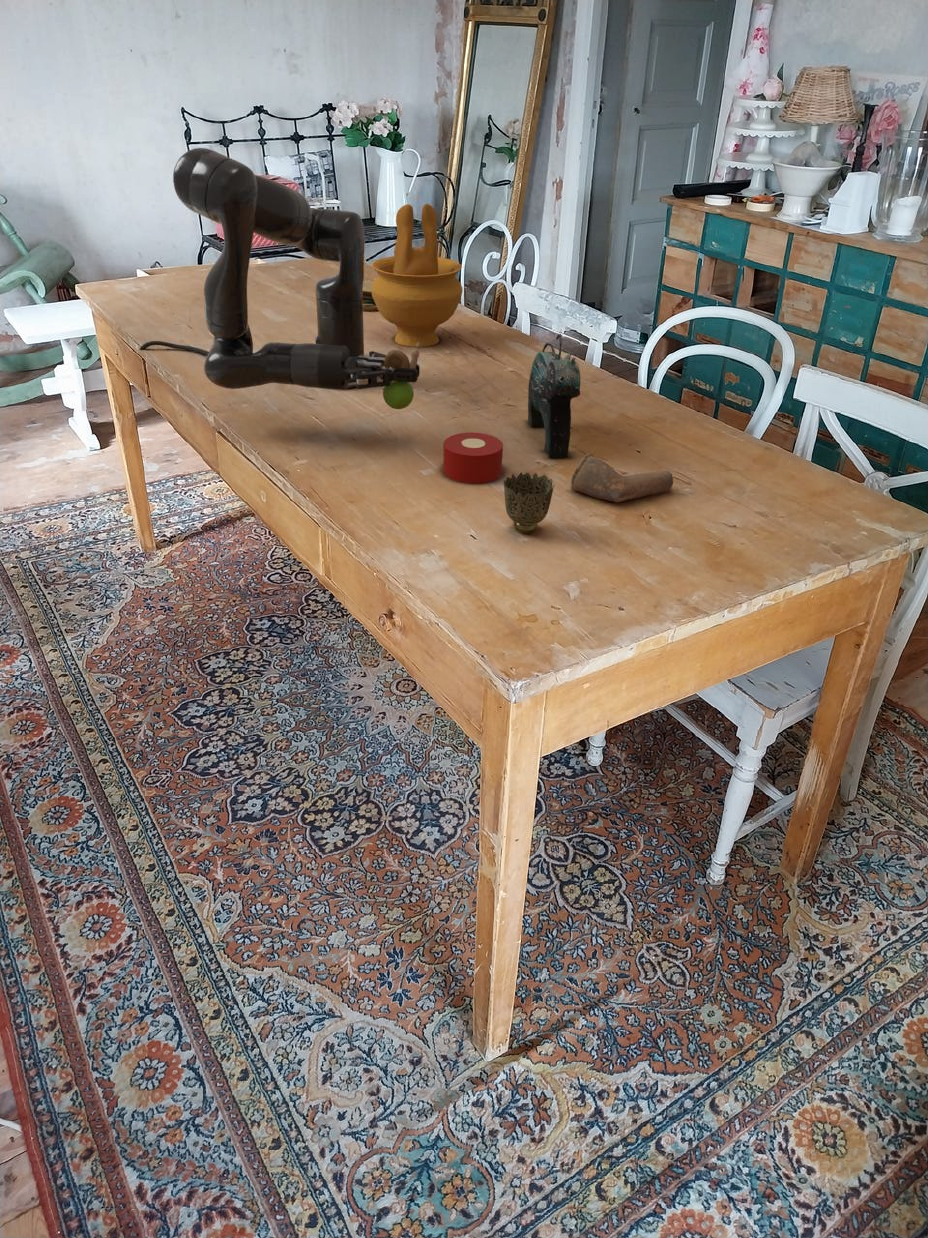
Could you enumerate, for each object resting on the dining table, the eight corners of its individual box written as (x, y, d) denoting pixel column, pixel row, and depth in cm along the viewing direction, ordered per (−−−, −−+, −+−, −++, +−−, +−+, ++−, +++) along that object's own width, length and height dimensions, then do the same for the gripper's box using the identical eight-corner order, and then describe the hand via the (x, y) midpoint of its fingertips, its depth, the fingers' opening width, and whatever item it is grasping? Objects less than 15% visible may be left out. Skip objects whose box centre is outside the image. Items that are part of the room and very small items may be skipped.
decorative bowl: (445, 324, 232) (448, 193, 216) (473, 350, 216) (478, 210, 199) (362, 329, 226) (359, 195, 210) (384, 356, 210) (382, 213, 193)
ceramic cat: (576, 461, 165) (587, 348, 154) (540, 462, 164) (549, 349, 153) (549, 419, 181) (558, 314, 170) (516, 420, 180) (523, 315, 169)
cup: (498, 518, 145) (501, 471, 141) (545, 518, 146) (549, 470, 141) (504, 541, 139) (507, 492, 135) (553, 541, 140) (557, 492, 135)
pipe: (685, 468, 152) (648, 437, 158) (602, 486, 144) (567, 453, 151) (674, 501, 156) (639, 469, 162) (594, 520, 149) (560, 486, 155)
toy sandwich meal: (336, 307, 242) (335, 289, 239) (358, 295, 252) (358, 277, 250) (380, 313, 238) (380, 294, 236) (401, 301, 249) (401, 283, 246)
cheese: (439, 481, 156) (440, 452, 153) (446, 457, 164) (447, 429, 161) (499, 485, 155) (501, 456, 152) (503, 461, 164) (505, 433, 161)
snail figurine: (414, 415, 164) (415, 348, 157) (379, 411, 165) (378, 344, 158) (422, 405, 168) (423, 338, 162) (387, 401, 169) (387, 334, 163)
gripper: (310, 357, 156) (412, 365, 155) (328, 333, 167) (424, 339, 166) (312, 400, 160) (412, 408, 159) (330, 373, 172) (423, 380, 171)
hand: (417, 373), depth 163 cm, fingers closed on snail figurine
